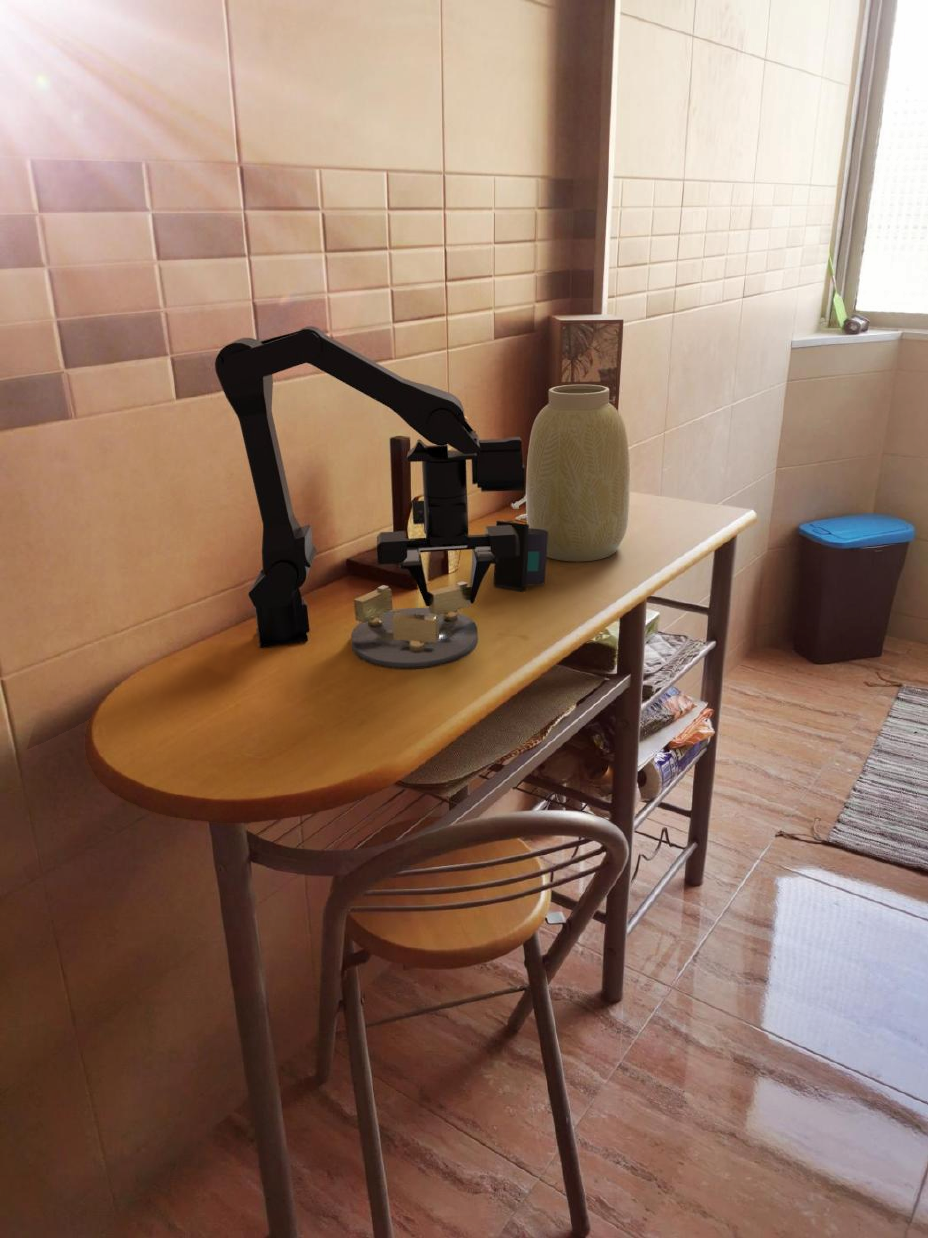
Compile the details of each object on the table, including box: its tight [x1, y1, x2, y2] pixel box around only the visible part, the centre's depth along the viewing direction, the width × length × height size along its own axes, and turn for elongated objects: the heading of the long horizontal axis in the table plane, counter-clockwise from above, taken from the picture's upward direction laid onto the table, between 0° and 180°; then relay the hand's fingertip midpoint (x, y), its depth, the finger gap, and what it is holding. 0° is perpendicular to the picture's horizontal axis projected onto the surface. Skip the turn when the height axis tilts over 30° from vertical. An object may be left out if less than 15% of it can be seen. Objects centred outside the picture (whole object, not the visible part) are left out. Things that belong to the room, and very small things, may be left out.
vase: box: [525, 384, 631, 562], centre depth 154 cm, size 17×17×27 cm
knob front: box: [392, 613, 439, 652], centre depth 118 cm, size 6×2×5 cm, turn 75°
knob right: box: [428, 581, 472, 622], centre depth 127 cm, size 6×2×5 cm, turn 119°
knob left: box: [353, 584, 394, 628], centre depth 126 cm, size 6×2×5 cm, turn 141°
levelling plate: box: [350, 607, 479, 670], centre depth 125 cm, size 17×17×2 cm
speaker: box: [493, 520, 548, 593], centre depth 142 cm, size 8×6×10 cm
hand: (449, 604), depth 127 cm, fingers closed on knob right, 6 cm apart
